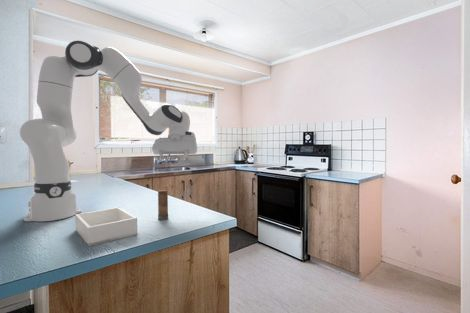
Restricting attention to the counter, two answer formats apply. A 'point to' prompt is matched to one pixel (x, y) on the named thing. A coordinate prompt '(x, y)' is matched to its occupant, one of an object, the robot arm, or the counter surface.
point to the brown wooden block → (162, 205)
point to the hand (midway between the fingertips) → (172, 159)
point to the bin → (105, 225)
